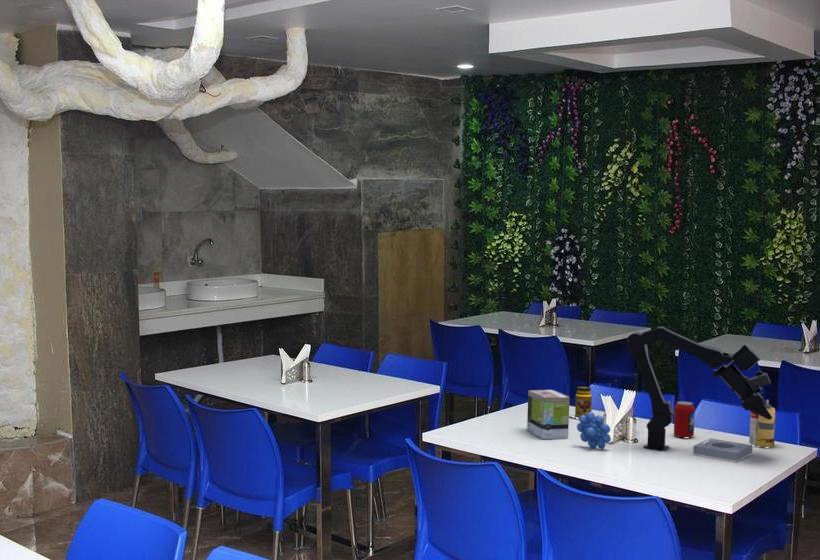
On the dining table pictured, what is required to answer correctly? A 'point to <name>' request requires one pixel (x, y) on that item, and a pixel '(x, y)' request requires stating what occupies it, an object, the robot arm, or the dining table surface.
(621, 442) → the dining table surface
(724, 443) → the grey square holder
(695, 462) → the dining table surface
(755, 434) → the canned food
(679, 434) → the beverage can
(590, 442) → the grapes
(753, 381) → the robot arm
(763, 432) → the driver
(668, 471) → the dining table surface
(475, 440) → the dining table surface
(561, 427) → the tea box
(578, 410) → the condiment
